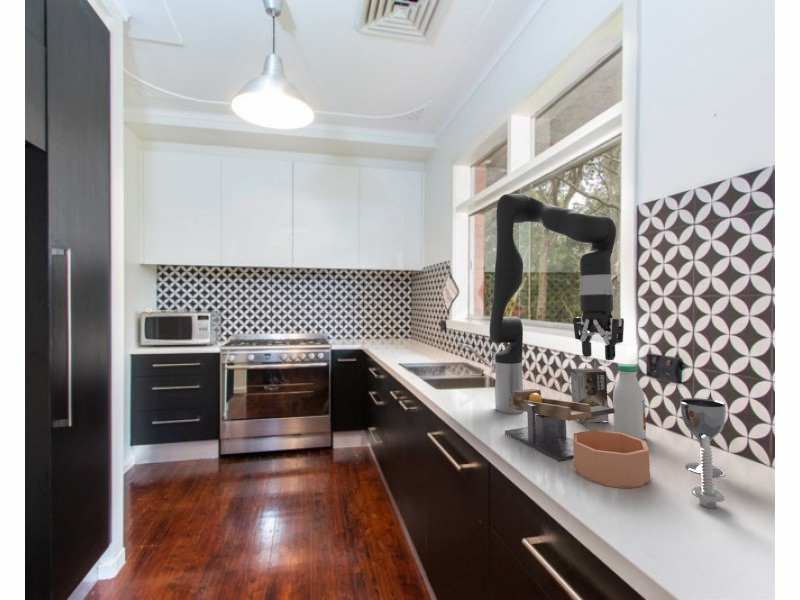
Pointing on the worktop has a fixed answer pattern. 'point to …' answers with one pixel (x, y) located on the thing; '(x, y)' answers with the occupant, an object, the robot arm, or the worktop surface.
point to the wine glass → (703, 423)
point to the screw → (707, 478)
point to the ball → (535, 397)
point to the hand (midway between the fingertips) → (598, 357)
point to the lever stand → (545, 436)
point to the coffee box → (590, 390)
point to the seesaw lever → (556, 406)
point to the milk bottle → (629, 403)
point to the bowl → (611, 459)
